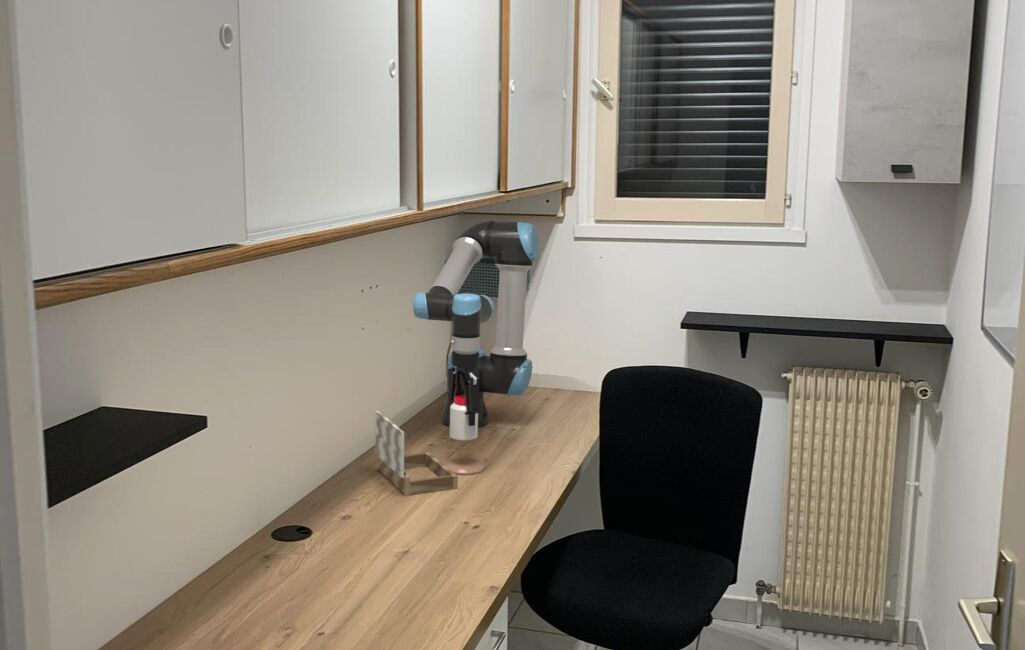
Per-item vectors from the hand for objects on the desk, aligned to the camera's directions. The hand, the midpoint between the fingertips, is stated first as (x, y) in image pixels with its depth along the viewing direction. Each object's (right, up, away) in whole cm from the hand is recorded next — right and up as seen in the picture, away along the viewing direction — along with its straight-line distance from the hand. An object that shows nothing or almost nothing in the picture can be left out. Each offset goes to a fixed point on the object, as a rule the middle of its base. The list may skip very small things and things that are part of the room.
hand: (463, 431), depth 269 cm
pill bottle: (0, -1, 0) cm, 1 cm away
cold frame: (-12, -12, -8) cm, 19 cm away
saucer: (0, -10, +2) cm, 10 cm away
